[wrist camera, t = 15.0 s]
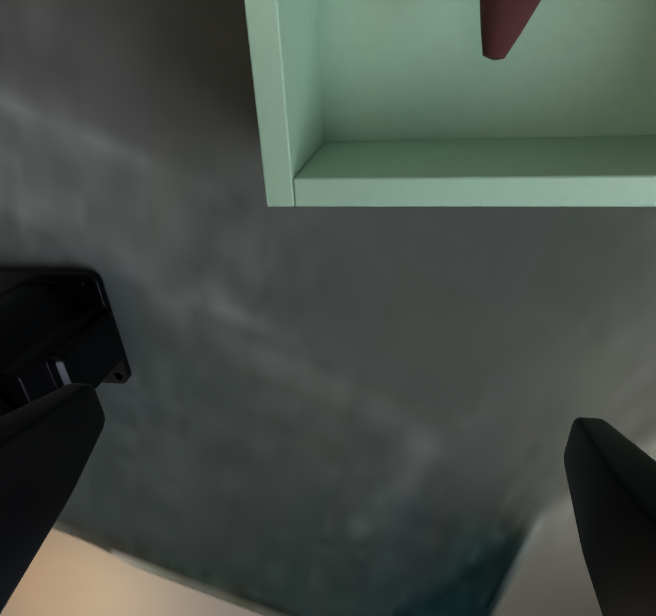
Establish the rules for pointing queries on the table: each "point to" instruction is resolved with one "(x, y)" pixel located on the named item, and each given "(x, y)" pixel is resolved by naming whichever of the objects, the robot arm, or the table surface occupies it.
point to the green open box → (454, 104)
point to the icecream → (503, 24)
